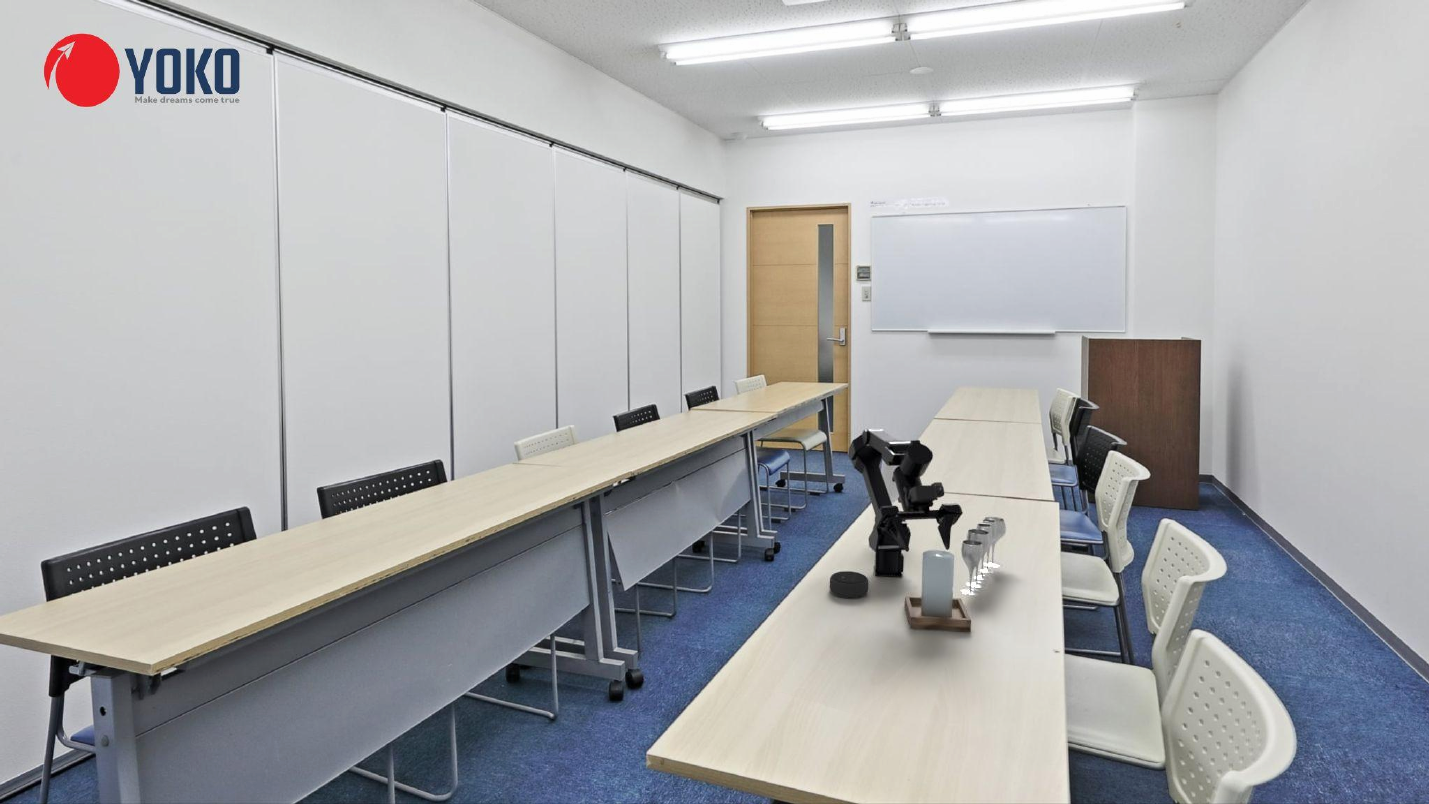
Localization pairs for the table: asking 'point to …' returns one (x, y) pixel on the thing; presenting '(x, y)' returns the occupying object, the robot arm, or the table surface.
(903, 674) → the table surface
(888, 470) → the white tapered column
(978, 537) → the goblet set
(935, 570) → the domed blue cylinder
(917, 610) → the tray
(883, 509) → the robot arm
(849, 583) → the smart speaker
